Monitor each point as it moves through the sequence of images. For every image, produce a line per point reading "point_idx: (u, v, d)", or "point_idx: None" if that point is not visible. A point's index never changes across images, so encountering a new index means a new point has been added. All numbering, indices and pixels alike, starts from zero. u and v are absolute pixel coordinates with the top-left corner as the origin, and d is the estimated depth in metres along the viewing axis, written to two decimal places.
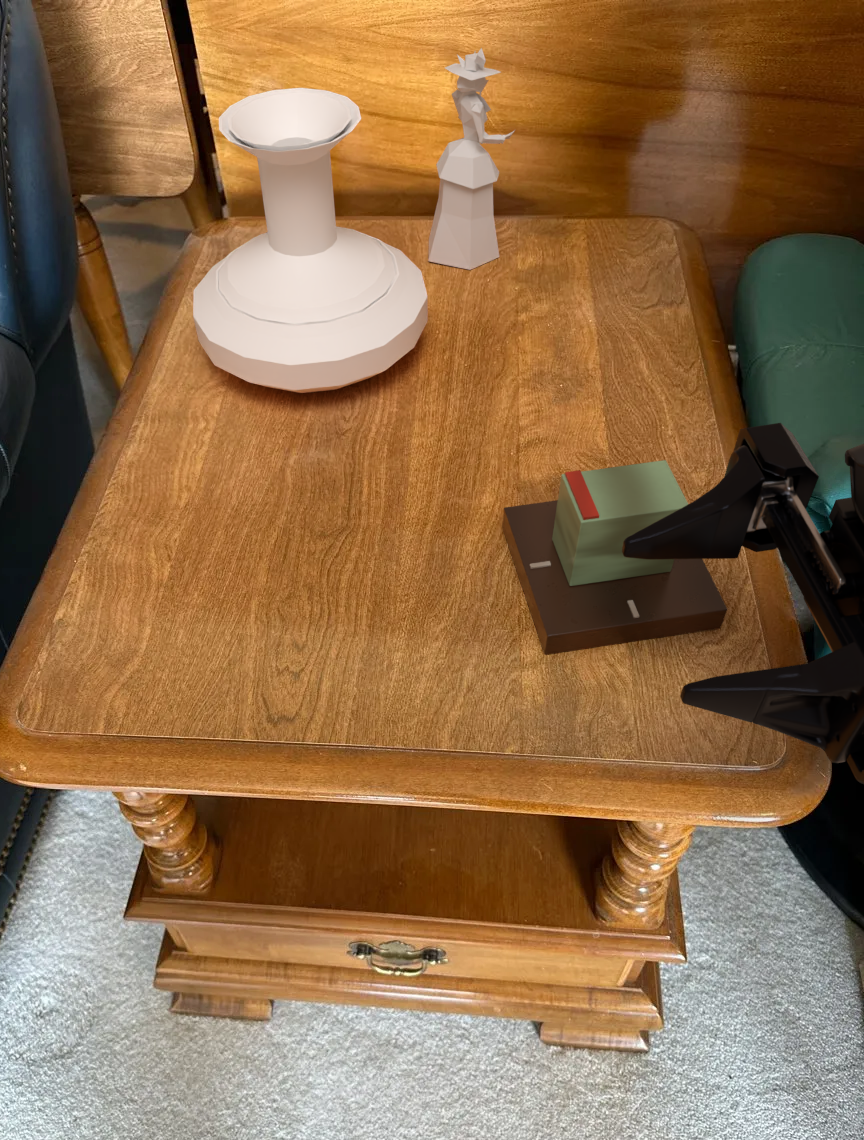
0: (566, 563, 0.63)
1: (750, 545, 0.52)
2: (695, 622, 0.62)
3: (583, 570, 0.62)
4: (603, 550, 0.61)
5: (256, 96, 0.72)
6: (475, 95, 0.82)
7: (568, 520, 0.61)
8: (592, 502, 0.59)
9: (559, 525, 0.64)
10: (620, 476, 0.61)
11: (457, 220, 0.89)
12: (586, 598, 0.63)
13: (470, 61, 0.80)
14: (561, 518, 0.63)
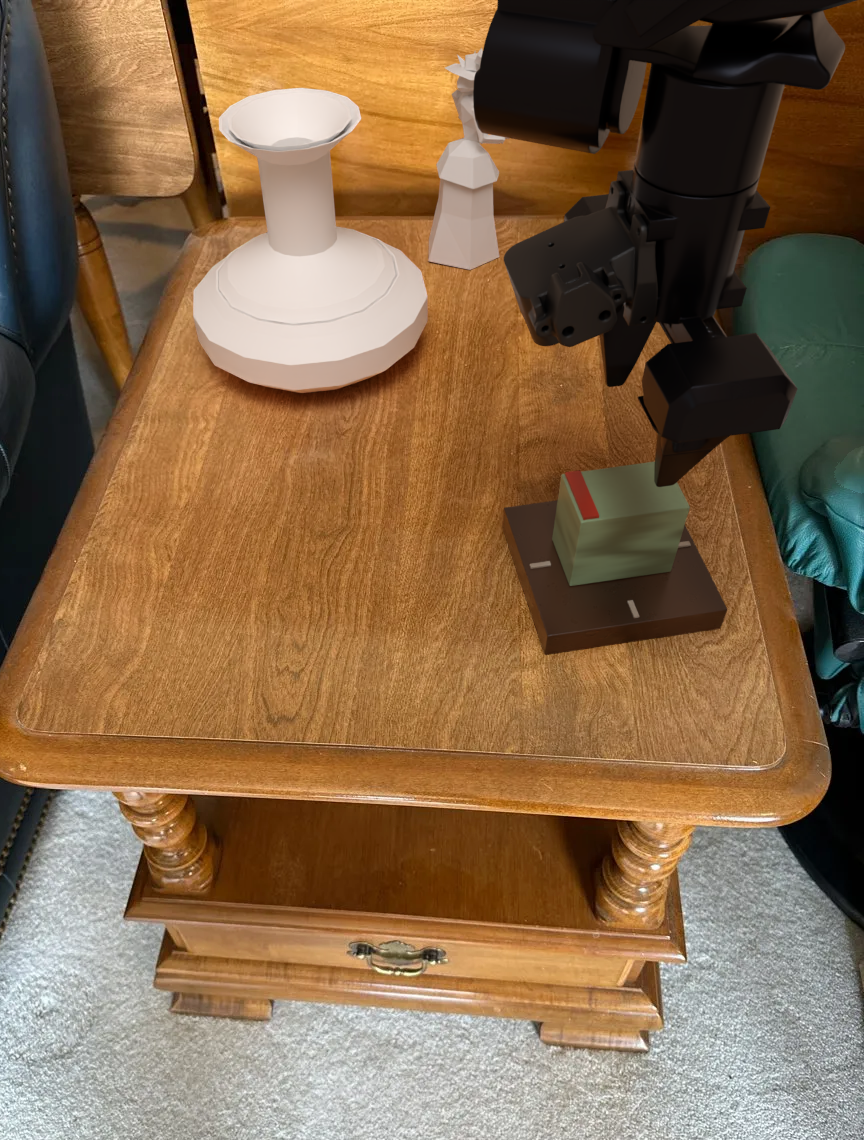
0: (566, 563, 0.63)
1: None
2: (695, 622, 0.62)
3: (583, 570, 0.62)
4: (603, 550, 0.61)
5: (256, 96, 0.72)
6: None
7: (568, 520, 0.61)
8: (592, 502, 0.59)
9: (559, 525, 0.64)
10: (620, 476, 0.61)
11: (457, 220, 0.89)
12: (586, 598, 0.63)
13: (470, 61, 0.80)
14: (561, 518, 0.63)
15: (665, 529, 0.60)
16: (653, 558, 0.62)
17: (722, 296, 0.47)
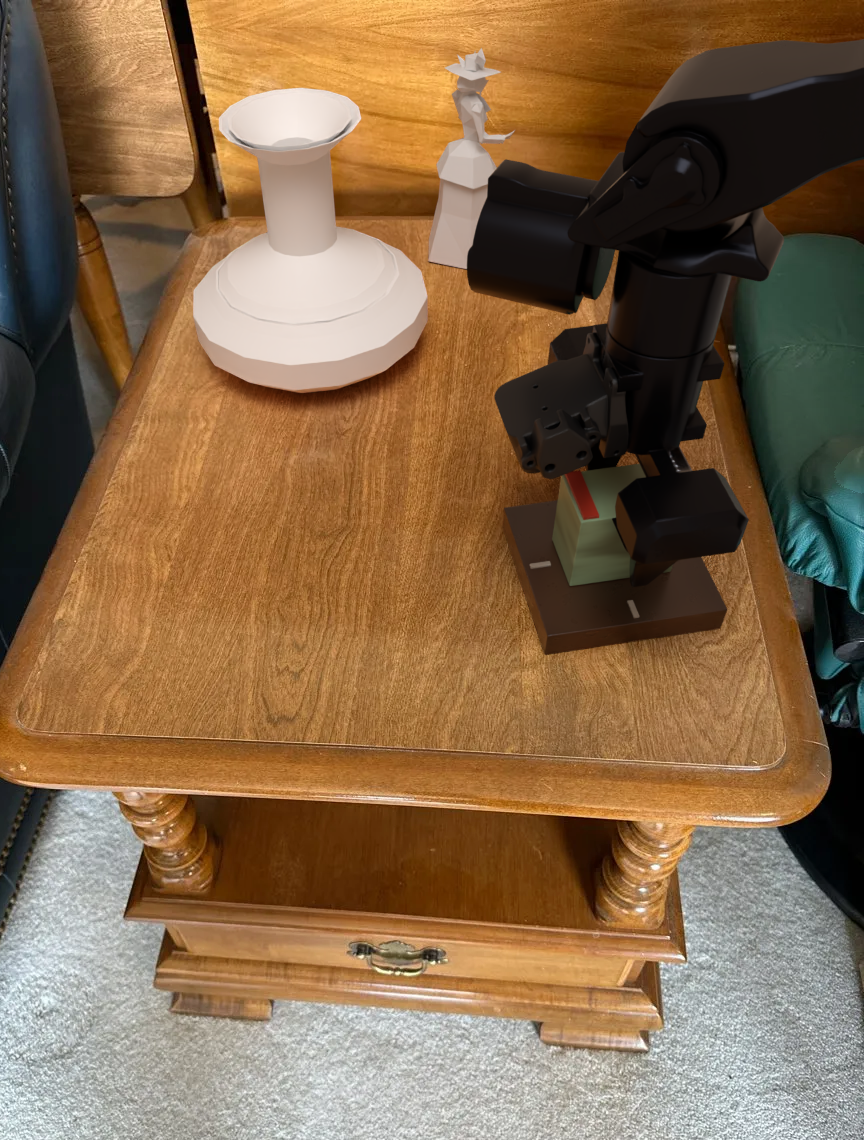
0: (566, 563, 0.63)
1: None
2: (695, 622, 0.62)
3: (583, 570, 0.62)
4: (603, 550, 0.61)
5: (256, 96, 0.72)
6: (475, 95, 0.82)
7: (568, 520, 0.61)
8: (592, 502, 0.59)
9: (559, 525, 0.64)
10: (620, 476, 0.61)
11: (457, 220, 0.89)
12: (586, 598, 0.63)
13: (470, 61, 0.80)
14: (561, 518, 0.63)
15: None
16: None
17: (686, 432, 0.54)
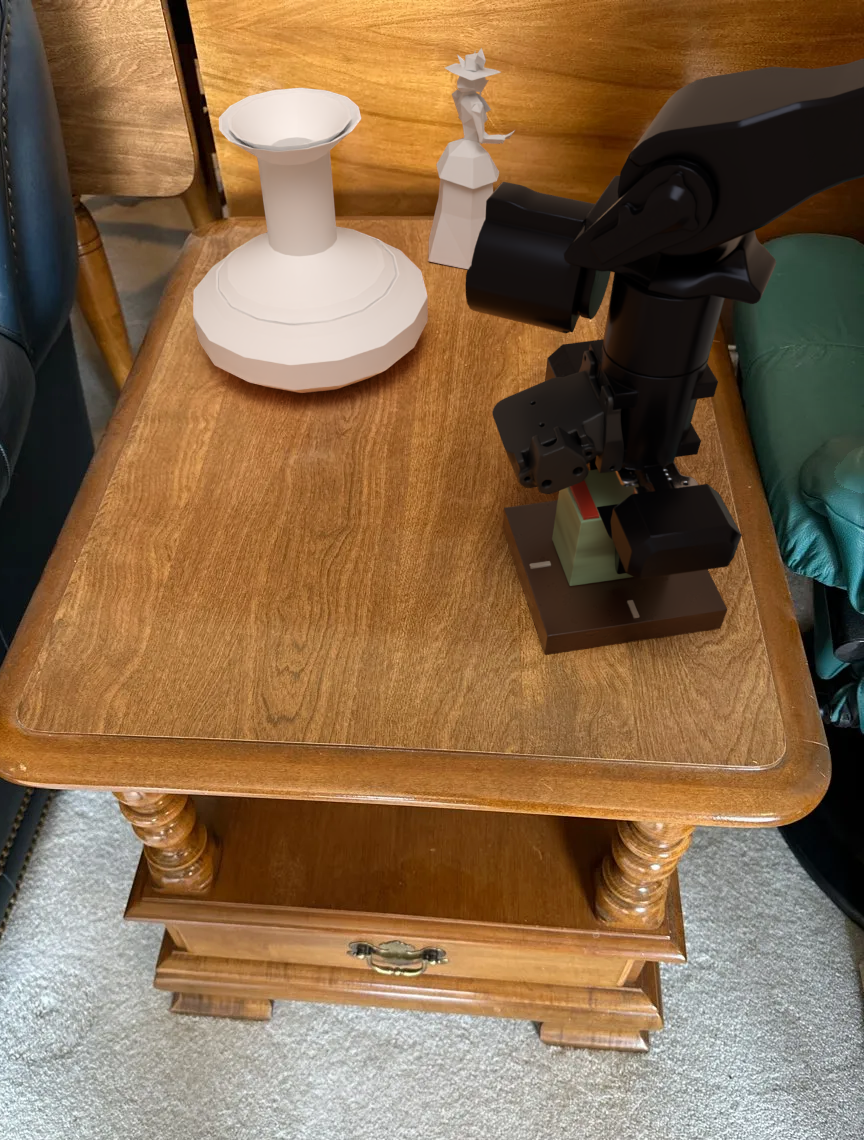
0: (566, 563, 0.63)
1: None
2: (695, 622, 0.62)
3: (583, 570, 0.62)
4: (603, 550, 0.61)
5: (256, 96, 0.72)
6: (475, 95, 0.82)
7: (568, 520, 0.61)
8: (592, 502, 0.59)
9: (559, 525, 0.64)
10: None
11: (457, 220, 0.89)
12: (586, 598, 0.63)
13: (470, 61, 0.80)
14: (561, 518, 0.63)
15: None
16: None
17: (680, 447, 0.55)
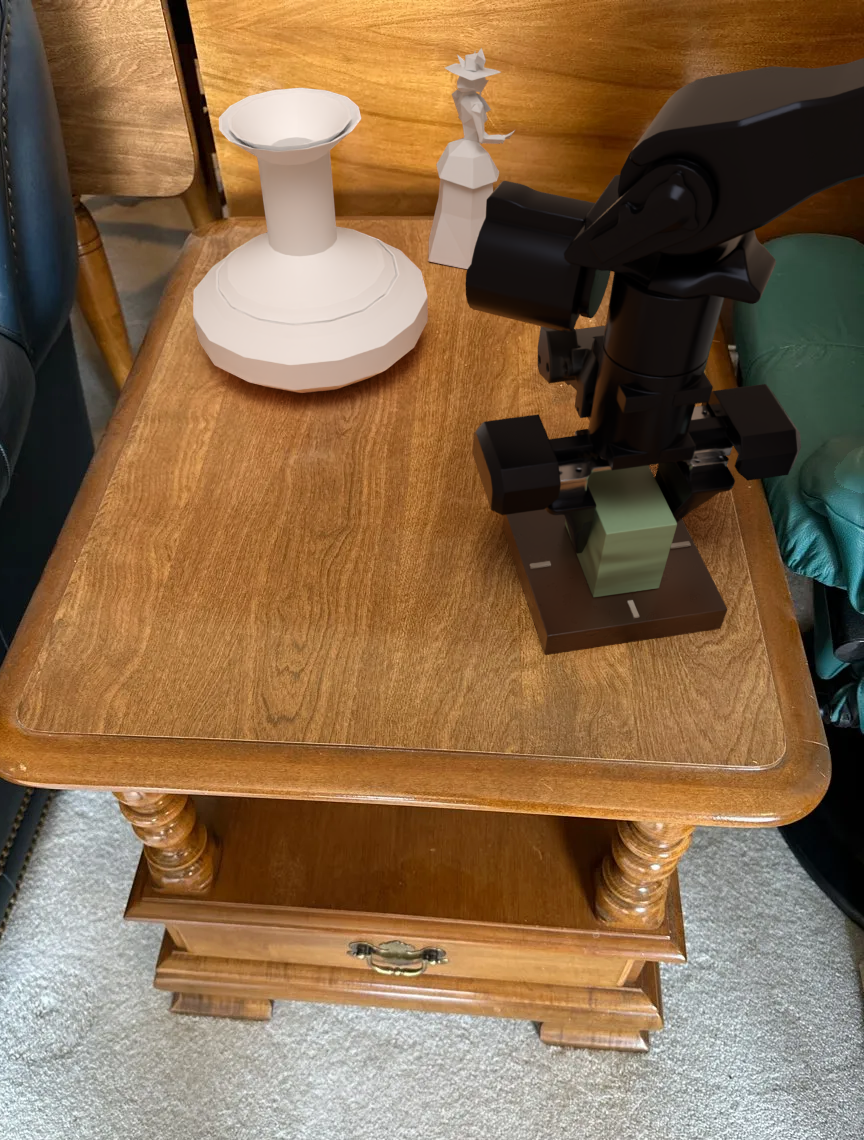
0: None
1: None
2: (695, 622, 0.62)
3: None
4: None
5: (256, 96, 0.72)
6: (475, 95, 0.82)
7: None
8: None
9: None
10: (644, 488, 0.60)
11: (457, 220, 0.89)
12: (586, 598, 0.63)
13: (470, 61, 0.80)
14: None
15: (596, 538, 0.60)
16: (589, 563, 0.62)
17: (607, 448, 0.55)
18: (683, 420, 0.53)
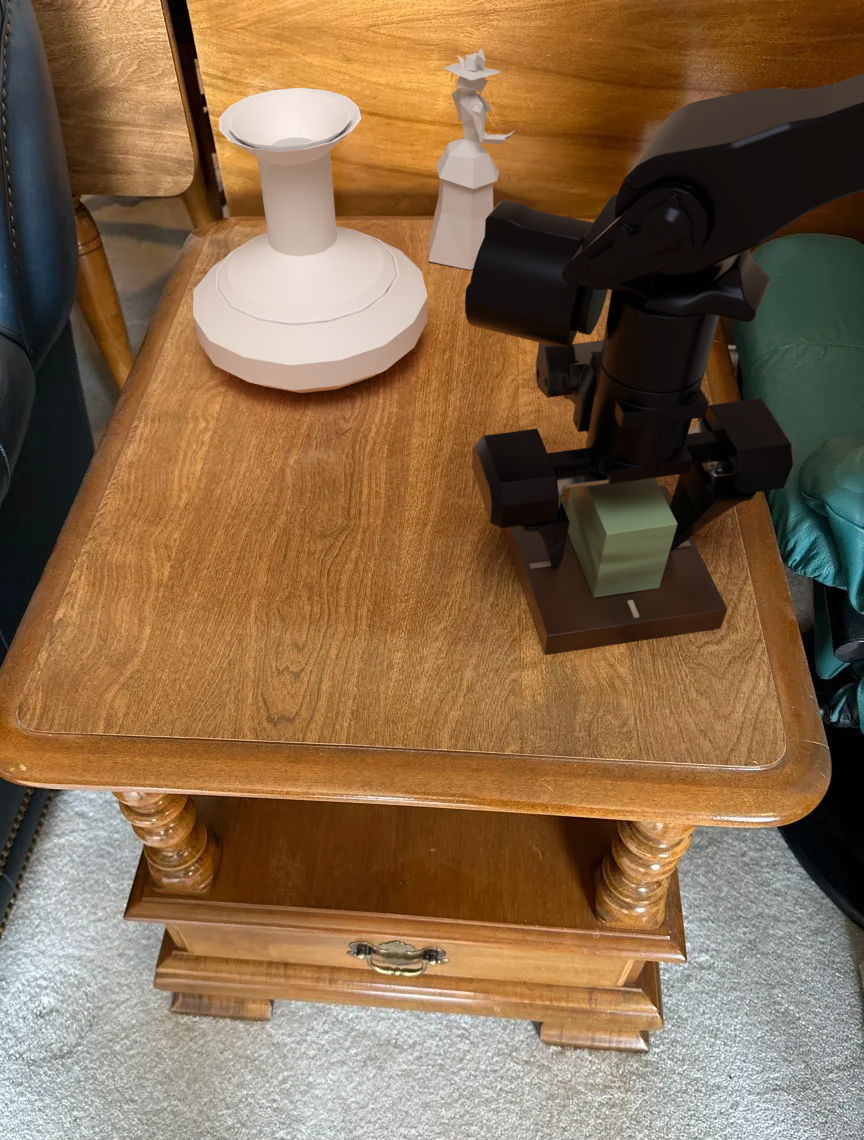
0: None
1: None
2: (695, 622, 0.62)
3: (569, 516, 0.65)
4: (576, 510, 0.63)
5: (256, 96, 0.72)
6: (475, 95, 0.82)
7: None
8: None
9: None
10: (644, 488, 0.60)
11: (457, 220, 0.89)
12: (586, 598, 0.63)
13: (470, 61, 0.80)
14: None
15: (596, 538, 0.60)
16: (589, 563, 0.62)
17: (605, 462, 0.56)
18: (679, 435, 0.54)
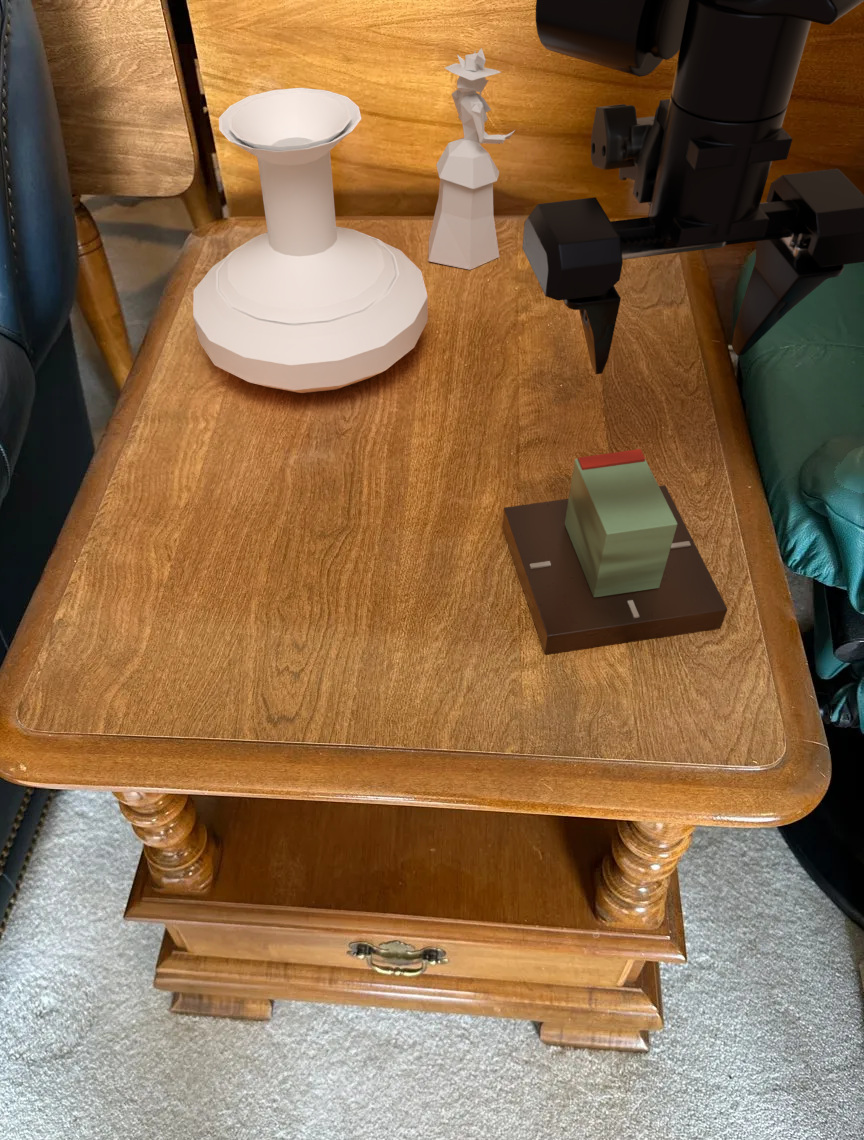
0: None
1: (812, 257, 0.53)
2: (695, 622, 0.62)
3: (569, 516, 0.65)
4: (576, 510, 0.63)
5: (256, 96, 0.72)
6: (475, 95, 0.82)
7: None
8: (599, 463, 0.61)
9: None
10: (644, 488, 0.60)
11: (457, 220, 0.89)
12: (586, 598, 0.63)
13: (470, 61, 0.80)
14: None
15: (596, 538, 0.60)
16: (589, 563, 0.62)
17: (672, 224, 0.51)
18: (757, 186, 0.49)
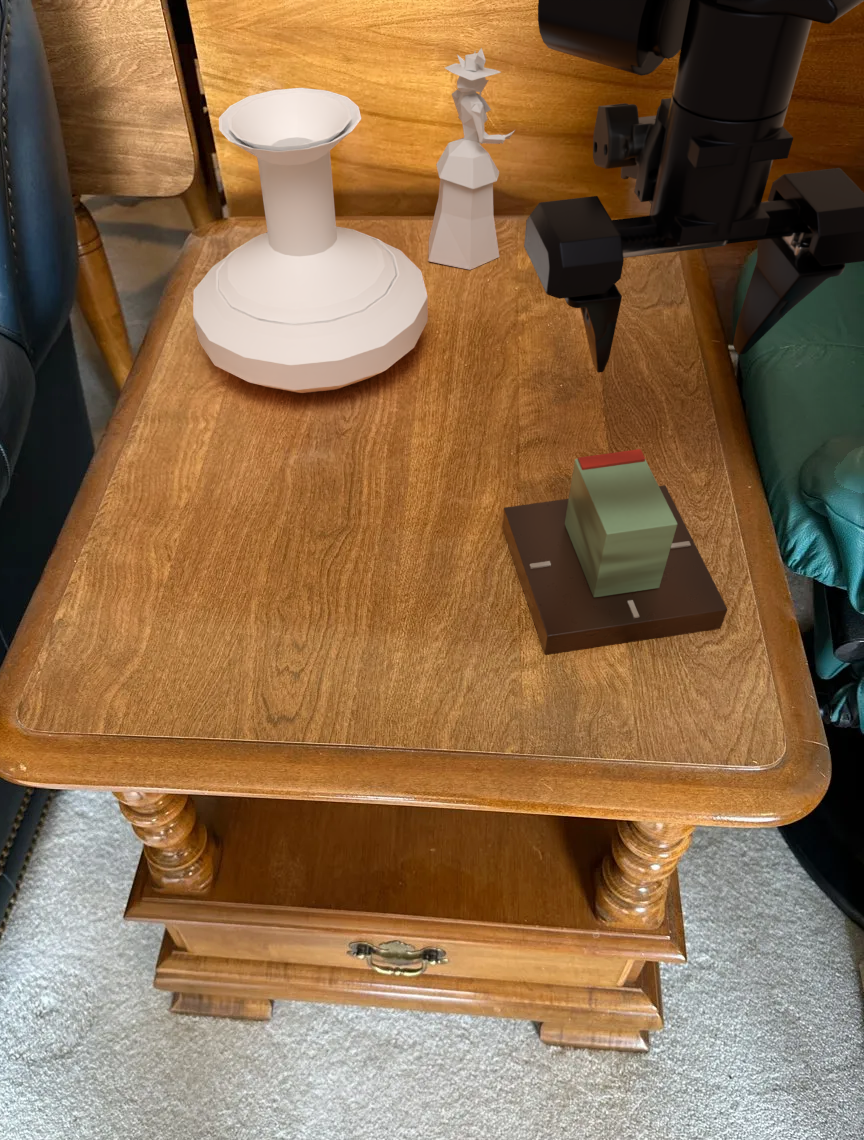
0: None
1: None
2: (695, 622, 0.62)
3: (569, 516, 0.65)
4: (576, 510, 0.63)
5: (256, 96, 0.72)
6: (475, 95, 0.82)
7: None
8: (599, 463, 0.61)
9: None
10: (644, 488, 0.60)
11: (457, 220, 0.89)
12: (586, 598, 0.63)
13: (470, 61, 0.80)
14: None
15: (596, 538, 0.60)
16: (589, 563, 0.62)
17: (673, 222, 0.51)
18: (758, 185, 0.49)
